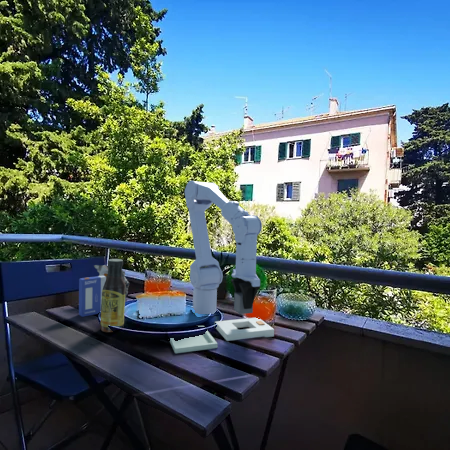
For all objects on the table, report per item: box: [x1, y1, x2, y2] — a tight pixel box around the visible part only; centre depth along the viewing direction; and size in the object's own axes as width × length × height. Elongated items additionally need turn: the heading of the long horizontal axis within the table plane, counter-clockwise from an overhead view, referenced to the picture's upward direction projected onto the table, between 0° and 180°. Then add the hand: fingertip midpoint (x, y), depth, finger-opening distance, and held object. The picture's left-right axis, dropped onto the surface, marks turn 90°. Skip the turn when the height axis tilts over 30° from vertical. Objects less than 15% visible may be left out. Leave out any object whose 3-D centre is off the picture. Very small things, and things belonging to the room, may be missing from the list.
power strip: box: [214, 317, 275, 342], centre depth 89 cm, size 10×14×2 cm
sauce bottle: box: [100, 258, 126, 333], centre depth 88 cm, size 6×6×20 cm
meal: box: [93, 264, 130, 303], centre depth 112 cm, size 15×4×13 cm, turn 65°
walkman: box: [78, 275, 106, 318], centre depth 101 cm, size 8×3×12 cm, turn 135°
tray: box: [169, 325, 219, 354], centre depth 82 cm, size 13×11×2 cm
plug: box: [233, 291, 254, 315], centre depth 89 cm, size 4×4×5 cm
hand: (244, 306), depth 89 cm, fingers closed on plug, 4 cm apart
